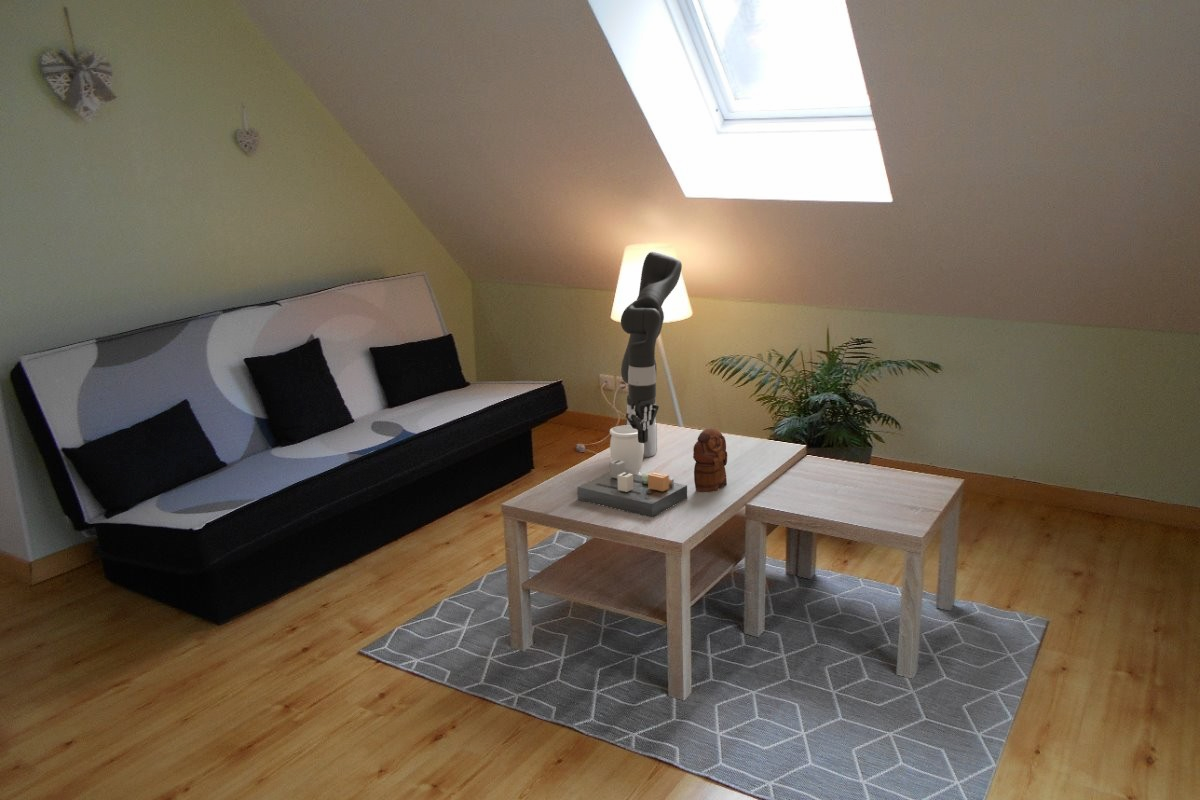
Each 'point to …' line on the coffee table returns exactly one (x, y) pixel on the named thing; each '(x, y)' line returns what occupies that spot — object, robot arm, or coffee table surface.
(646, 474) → the pale green dome
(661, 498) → the panel
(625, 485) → the ivory slider
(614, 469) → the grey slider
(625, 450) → the jar
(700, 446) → the wooden figurine
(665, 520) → the coffee table surface
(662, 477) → the tan box with strip
